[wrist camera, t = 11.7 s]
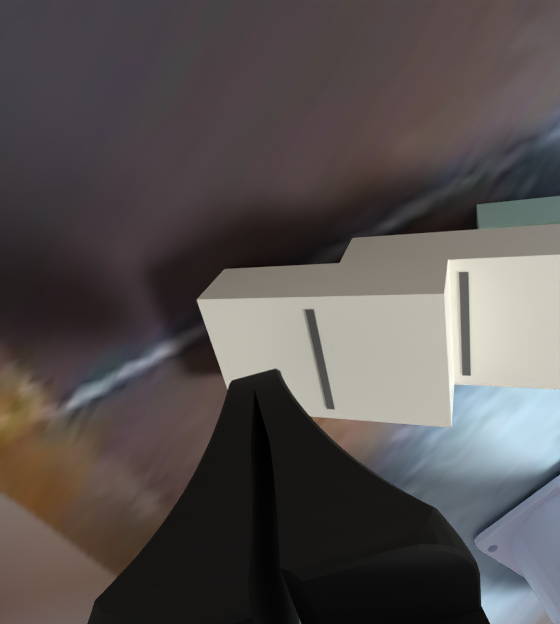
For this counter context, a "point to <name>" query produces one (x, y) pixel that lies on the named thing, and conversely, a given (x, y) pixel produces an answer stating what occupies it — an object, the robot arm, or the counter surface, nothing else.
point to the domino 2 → (492, 298)
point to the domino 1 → (341, 336)
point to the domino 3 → (519, 213)
